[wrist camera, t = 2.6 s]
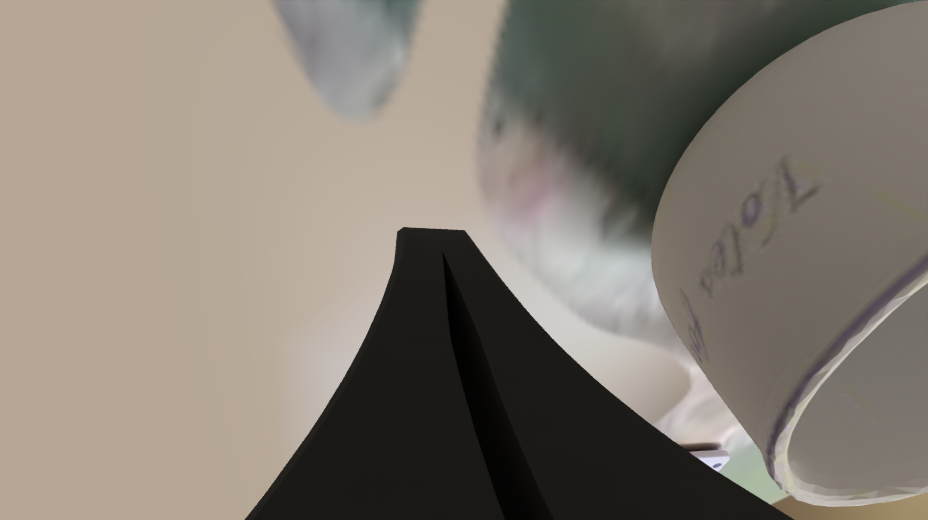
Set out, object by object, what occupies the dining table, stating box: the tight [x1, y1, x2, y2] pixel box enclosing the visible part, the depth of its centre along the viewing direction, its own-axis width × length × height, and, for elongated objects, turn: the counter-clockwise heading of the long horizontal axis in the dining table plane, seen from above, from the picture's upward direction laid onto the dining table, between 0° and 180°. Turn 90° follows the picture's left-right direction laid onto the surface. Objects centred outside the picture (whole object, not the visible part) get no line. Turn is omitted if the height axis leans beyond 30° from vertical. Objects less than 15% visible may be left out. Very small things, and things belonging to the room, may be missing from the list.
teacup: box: [651, 0, 928, 507], centre depth 13 cm, size 14×11×8 cm
